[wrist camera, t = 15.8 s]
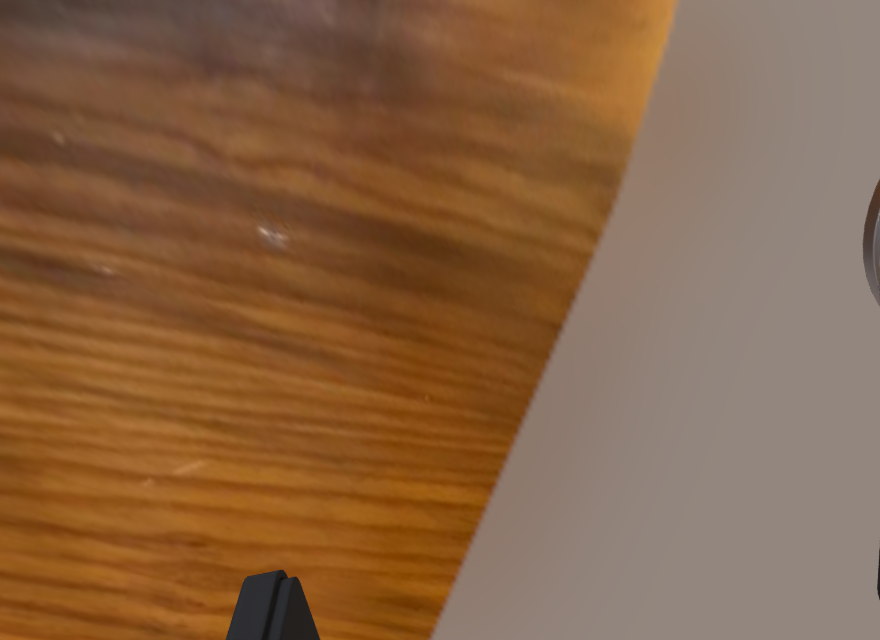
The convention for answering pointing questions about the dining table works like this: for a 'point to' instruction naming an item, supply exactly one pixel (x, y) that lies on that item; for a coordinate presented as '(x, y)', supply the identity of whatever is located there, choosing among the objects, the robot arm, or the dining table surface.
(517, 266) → the dining table surface
